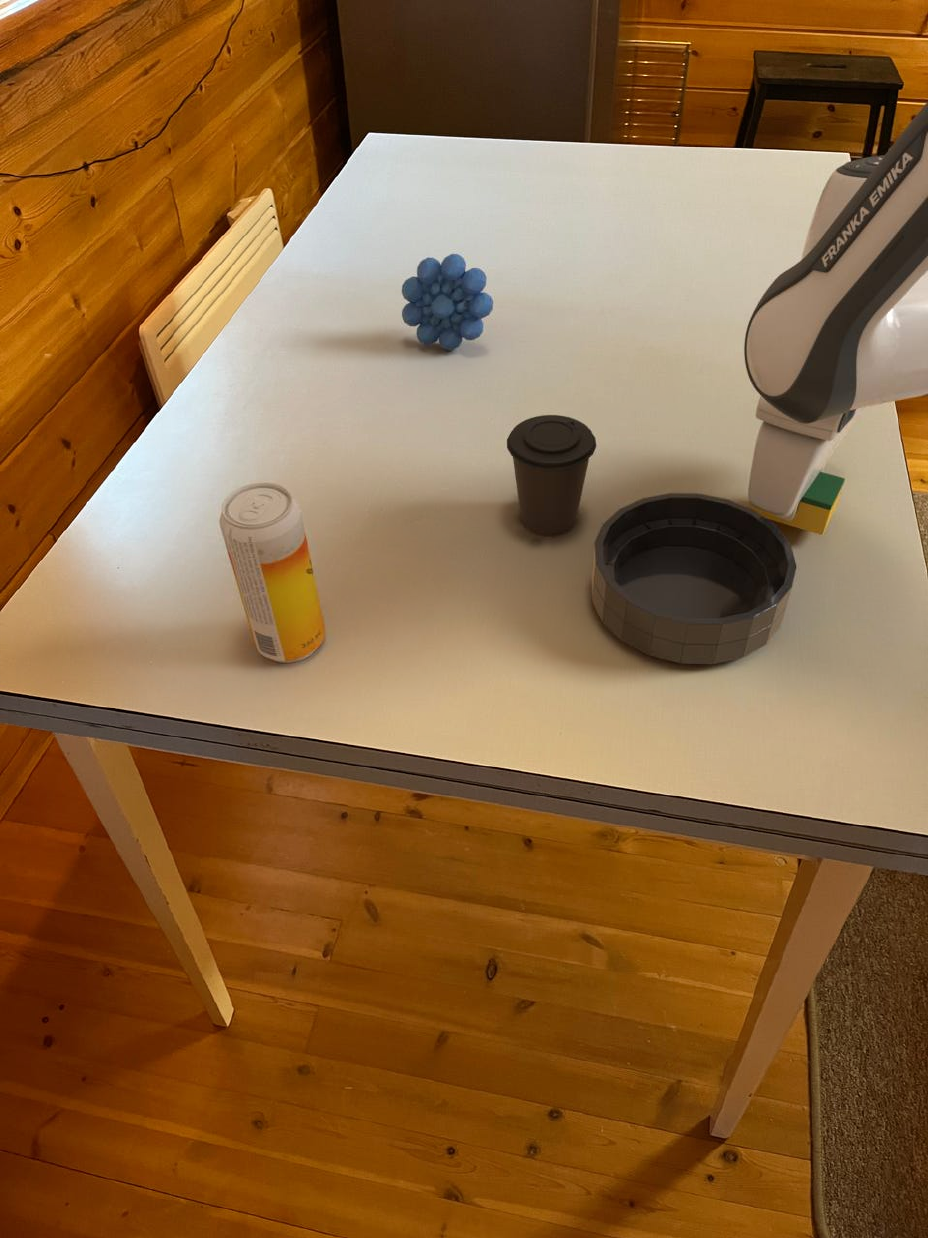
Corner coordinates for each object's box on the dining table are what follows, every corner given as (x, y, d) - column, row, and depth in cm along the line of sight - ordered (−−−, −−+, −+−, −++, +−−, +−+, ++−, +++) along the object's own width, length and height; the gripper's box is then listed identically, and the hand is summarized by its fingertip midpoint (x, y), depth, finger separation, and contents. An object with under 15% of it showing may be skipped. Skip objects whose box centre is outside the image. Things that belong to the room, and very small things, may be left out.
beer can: (338, 624, 81) (311, 486, 70) (307, 674, 77) (274, 536, 66) (275, 610, 82) (240, 473, 72) (243, 658, 78) (200, 521, 68)
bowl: (765, 540, 86) (777, 493, 83) (797, 673, 75) (813, 626, 71) (588, 537, 88) (592, 491, 84) (594, 668, 76) (598, 621, 72)
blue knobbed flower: (505, 339, 114) (504, 242, 106) (487, 366, 110) (485, 268, 101) (418, 325, 118) (410, 231, 109) (397, 352, 113) (387, 255, 105)
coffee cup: (603, 506, 91) (611, 419, 84) (570, 555, 86) (575, 467, 79) (528, 484, 94) (530, 398, 87) (492, 531, 89) (490, 444, 82)
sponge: (835, 508, 87) (845, 478, 85) (822, 535, 85) (832, 505, 82) (762, 486, 90) (770, 457, 88) (747, 512, 87) (754, 482, 85)
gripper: (839, 302, 83) (804, 432, 93) (749, 411, 72) (720, 545, 82) (910, 320, 81) (867, 451, 91) (829, 435, 69) (789, 571, 79)
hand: (796, 497), depth 86 cm, fingers closed on sponge, 4 cm apart
